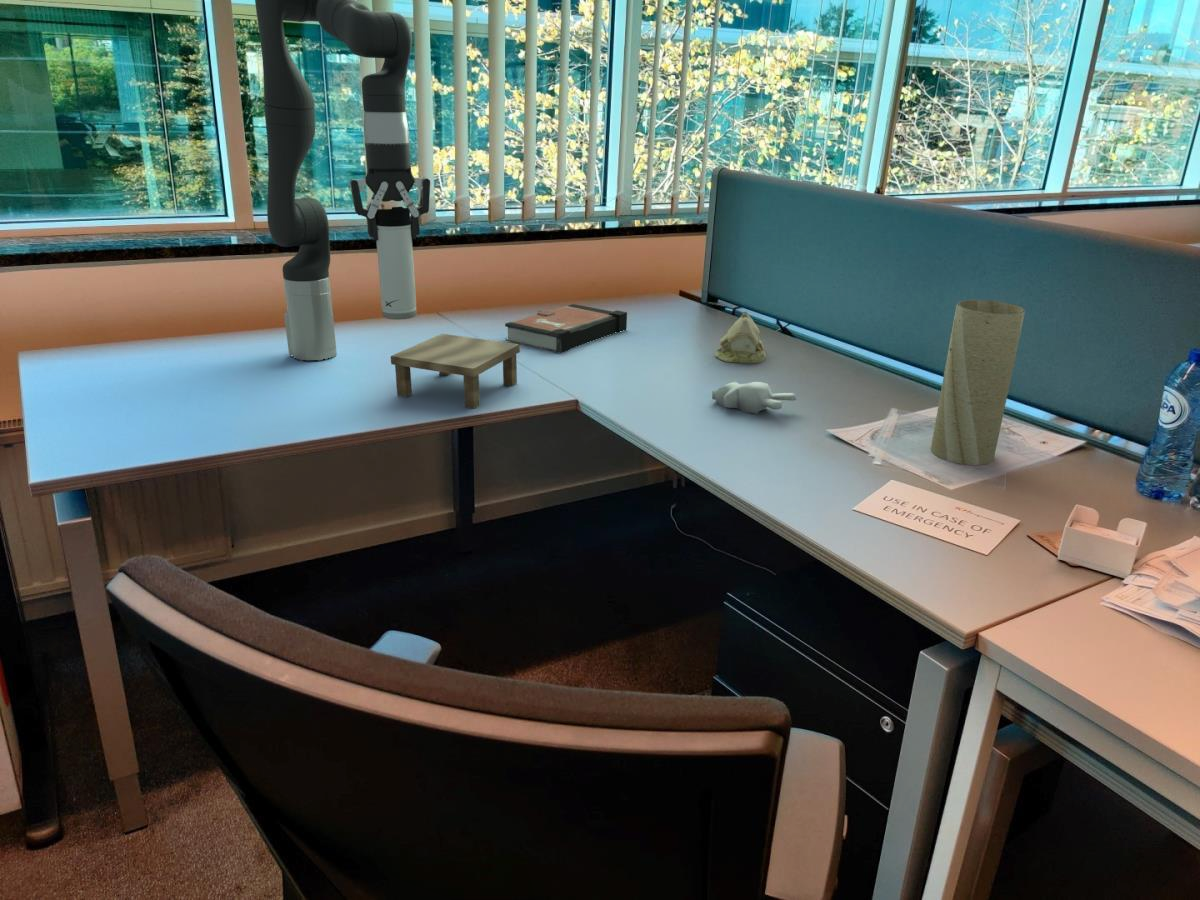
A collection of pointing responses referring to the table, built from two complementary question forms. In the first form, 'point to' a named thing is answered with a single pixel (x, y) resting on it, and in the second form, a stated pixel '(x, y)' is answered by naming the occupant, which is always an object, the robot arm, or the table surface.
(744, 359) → the ceramic model
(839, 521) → the table surface
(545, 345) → the book
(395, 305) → the travel mug
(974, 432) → the tube
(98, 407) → the table surface
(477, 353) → the footstool
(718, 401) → the bunny figurine
